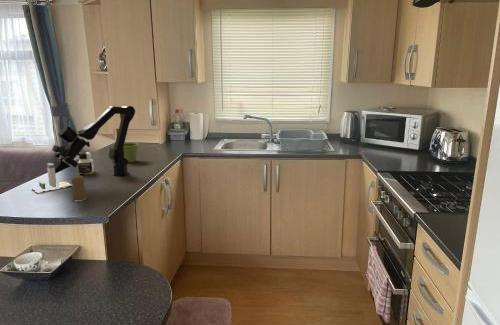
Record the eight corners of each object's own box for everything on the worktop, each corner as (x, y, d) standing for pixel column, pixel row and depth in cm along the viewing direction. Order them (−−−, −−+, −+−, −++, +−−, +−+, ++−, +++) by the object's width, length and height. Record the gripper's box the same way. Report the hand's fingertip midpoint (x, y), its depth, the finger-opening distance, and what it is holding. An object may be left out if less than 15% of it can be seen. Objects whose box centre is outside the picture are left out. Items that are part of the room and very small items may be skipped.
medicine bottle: (79, 174, 207) (76, 154, 204) (81, 171, 213) (78, 151, 210) (92, 174, 208) (90, 153, 206) (94, 170, 215) (92, 151, 212)
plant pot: (116, 162, 236) (115, 145, 233) (130, 158, 246) (128, 142, 244) (130, 164, 231) (128, 146, 228) (143, 160, 241) (142, 143, 238)
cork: (89, 197, 168) (87, 174, 165) (84, 202, 162) (81, 178, 159) (76, 197, 167) (73, 174, 165) (70, 202, 162) (67, 178, 159)
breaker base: (65, 182, 191) (65, 175, 190) (72, 186, 184) (71, 179, 183) (31, 189, 181) (30, 181, 180) (37, 193, 174) (35, 186, 173)
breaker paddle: (53, 184, 185) (51, 162, 183) (57, 186, 182) (54, 164, 179) (49, 185, 184) (46, 163, 181) (52, 187, 180) (49, 165, 178)
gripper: (56, 136, 188) (34, 160, 184) (68, 141, 175) (45, 167, 170) (73, 149, 195) (53, 173, 191) (86, 154, 182) (65, 180, 177)
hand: (54, 173), depth 182 cm, fingers closed, pressing on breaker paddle
